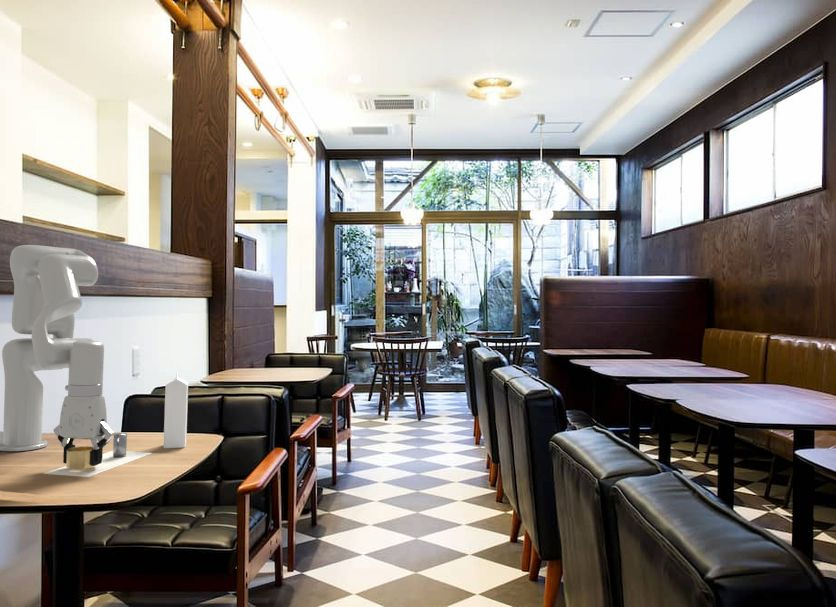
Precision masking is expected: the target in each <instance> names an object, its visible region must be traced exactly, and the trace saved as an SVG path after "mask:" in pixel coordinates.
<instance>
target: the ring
mask: <svg viewBox="0 0 836 607" xmlns="http://www.w3.org/2000/svg"><path fill="white" fill-rule="evenodd" d="M92 449H94V448H93V445H80V446H75V447H72V448H69V449H68V450H67V460H66V463H65V466H66V467H68V468H72V469H84V468H90V467H94V466H91V450H92ZM95 466H97V465H95Z"/></svg>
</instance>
